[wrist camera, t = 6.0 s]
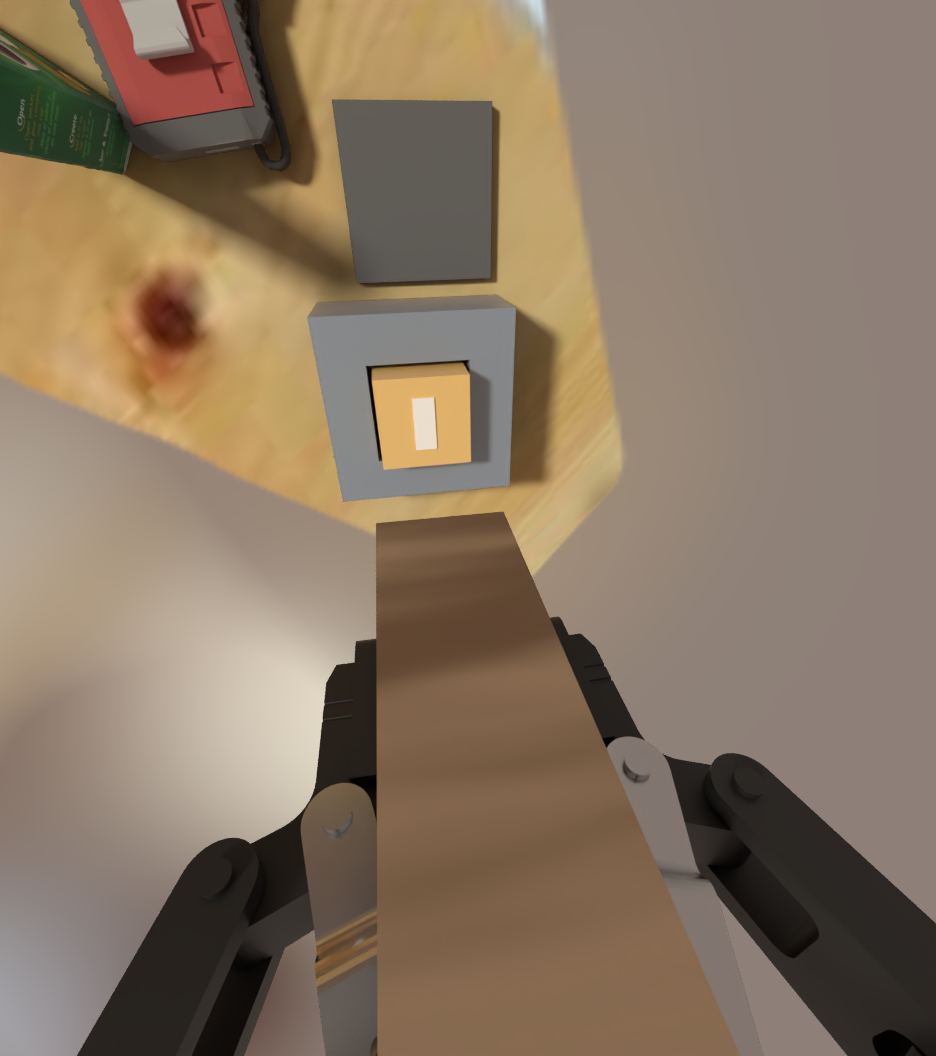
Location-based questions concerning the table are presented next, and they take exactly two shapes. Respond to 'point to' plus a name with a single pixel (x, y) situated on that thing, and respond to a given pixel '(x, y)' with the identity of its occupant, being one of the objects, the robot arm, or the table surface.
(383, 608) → the tall cardboard-brown rectangular prism
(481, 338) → the box
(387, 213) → the mat
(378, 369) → the button
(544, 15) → the table surface
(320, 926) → the robot arm
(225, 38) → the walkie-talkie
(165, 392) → the table surface
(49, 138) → the coffee box
